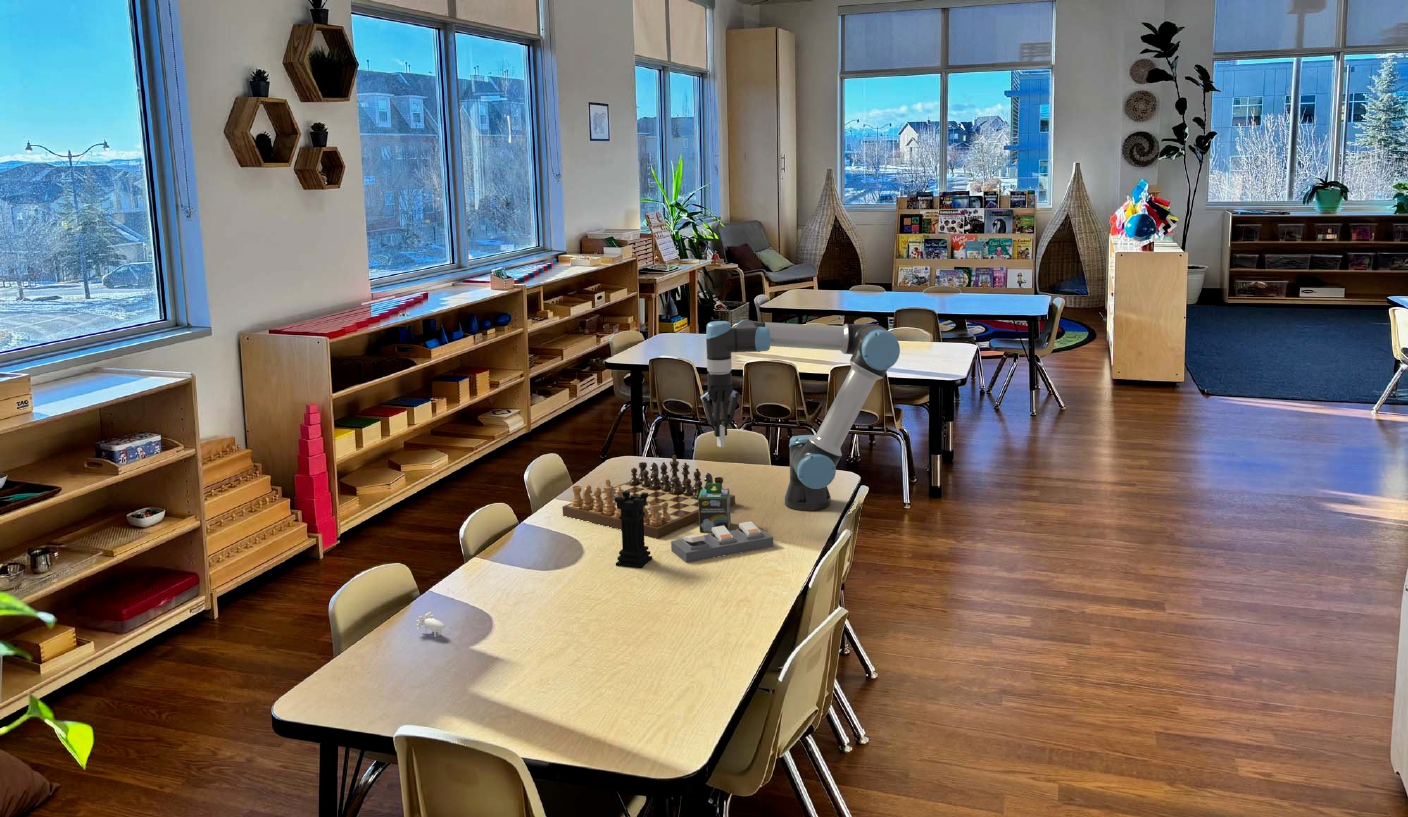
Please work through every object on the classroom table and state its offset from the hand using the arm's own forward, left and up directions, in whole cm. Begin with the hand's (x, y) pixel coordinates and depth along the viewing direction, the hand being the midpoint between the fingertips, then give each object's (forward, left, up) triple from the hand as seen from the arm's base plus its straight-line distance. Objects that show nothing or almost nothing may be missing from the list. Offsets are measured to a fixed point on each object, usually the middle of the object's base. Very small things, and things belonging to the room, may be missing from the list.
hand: (721, 446), depth 347 cm
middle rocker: (+11, +23, -20) cm, 32 cm away
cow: (+99, +45, -25) cm, 111 cm away
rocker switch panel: (+11, +23, -24) cm, 35 cm away
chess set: (+16, -21, -25) cm, 37 cm away
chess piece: (+38, +21, -25) cm, 50 cm away
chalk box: (+5, +5, -25) cm, 26 cm away
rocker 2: (+2, +23, -20) cm, 31 cm away
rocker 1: (+20, +23, -20) cm, 37 cm away
